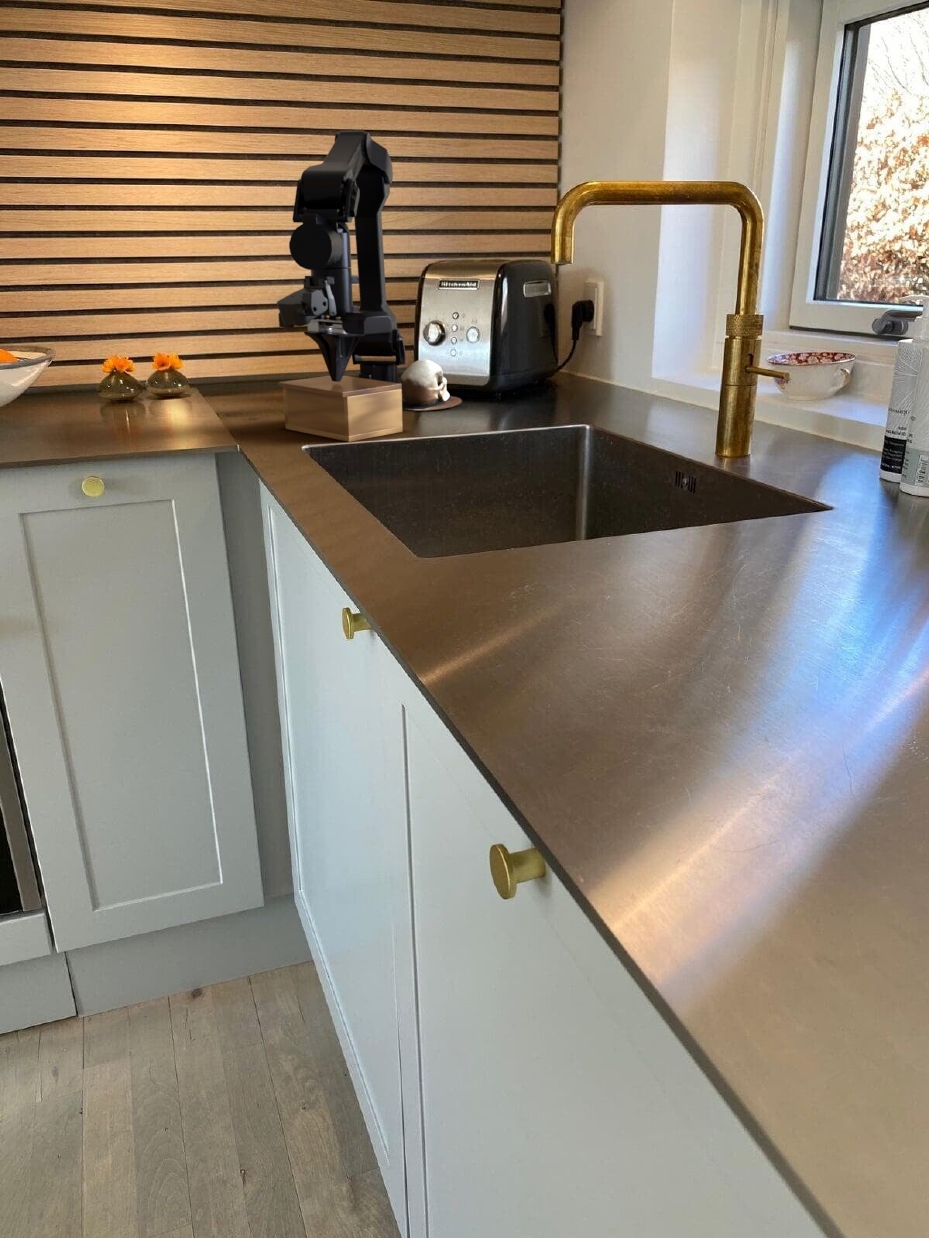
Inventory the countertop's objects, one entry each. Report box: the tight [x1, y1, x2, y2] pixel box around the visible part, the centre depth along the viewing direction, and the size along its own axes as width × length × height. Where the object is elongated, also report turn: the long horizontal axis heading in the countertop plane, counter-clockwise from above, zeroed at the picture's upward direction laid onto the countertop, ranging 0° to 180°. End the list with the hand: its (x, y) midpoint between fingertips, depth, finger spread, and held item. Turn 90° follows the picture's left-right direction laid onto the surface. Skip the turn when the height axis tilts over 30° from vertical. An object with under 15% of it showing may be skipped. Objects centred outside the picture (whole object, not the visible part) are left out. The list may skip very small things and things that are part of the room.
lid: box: [277, 375, 402, 398], centre depth 139 cm, size 11×15×1 cm
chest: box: [282, 388, 404, 443], centre depth 140 cm, size 11×15×6 cm
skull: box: [399, 359, 463, 411], centre depth 162 cm, size 12×10×10 cm
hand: (336, 381), depth 138 cm, fingers closed
